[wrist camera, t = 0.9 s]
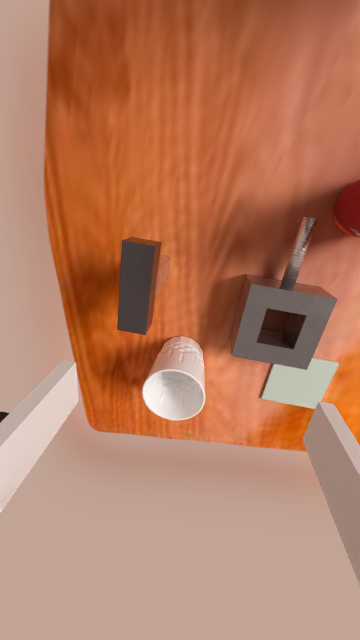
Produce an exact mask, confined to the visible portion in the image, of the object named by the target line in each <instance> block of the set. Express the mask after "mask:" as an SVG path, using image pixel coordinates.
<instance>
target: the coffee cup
mask: <svg viewBox="0 0 360 640" xmlns="http://www.w3.org/2000/svg"><path fill="white" fill-rule="evenodd" d="M333 217H334V221H335V224H336V225H337V227H338V228H339V229H340V230H342V231H343V232H345V233H347V234H350V235H352V236H355V237H358V238H360V180H359V181H357V182H355V183H353V184H351V185H350V186H348V187H347V188H346V189H345V190H344V191H343V192H342V193H341V194H340V195H339V197H338V199H337V200H336V203H335V206H334V210H333Z"/></svg>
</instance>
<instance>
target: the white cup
mask: <svg viewBox="0 0 360 640" xmlns="http://www.w3.org/2000/svg"><path fill="white" fill-rule="evenodd" d="M142 395H143V399H144V402H145V404H146V405H147V407H148V408H149V409H150V410H151V411H152V412H154V413H155V414H156V415H158V416H160V417H162V418H165V419H169V420H185V419H188V418H191V417H193V416H195V415H196V414H197V413H199V412H200V410H201V409H202V408H203V406H204V403H205V373H204V363H203V351H202V350H201V348H200V346H199V344H198V343H197V342H195V341H194V340H192V339H191V338H188V337H183V336H179V337H173V338H171V339H170V340H168V341H167V342H165V343H164V345H163V347H162V349H161V351H160V353H159V354H158V356H157V358H156V359H155V362H154V364H153V366H152V368H151V370H150V372H149V374H148V377H147V379H146V381H145V383H144V385H143V389H142Z"/></svg>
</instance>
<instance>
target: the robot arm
mask: <svg viewBox="0 0 360 640" xmlns="http://www.w3.org/2000/svg"><path fill="white" fill-rule="evenodd" d="M77 403H78V385H77V371H76V362H71V361H64V360H62V362H60V363H59V364H58V365H57V366H56V367H55V368H54V369H53V370H52V371H51V372H50V373H49V375H47V376H46V377H45V378H44V379H43V380H42V381H41V382H40V383H39V384H38V386H36V387H35V389H33V390H32V391H31V392H30V393H29V394H28V395H27V396H26V398H25V399H24V400H22V401H21V402H20V404H19V405H18V406H16V407H15V408H14V410H13V411H11V413H6V412H0V513H1V511H2V510H3V509H4V507H5V506H6V504H7V503H8V501H9V500H10V499H11V497H12V496H13V494H14V493H15V491H16V490H17V489H18V487H19V485H20V484H21V483H22V481H23V480H24V478H25V477H26V476H27V474H28V473H29V471H30V470H31V469H32V467H33V466H34V464H35V463H36V461H37V460H38V459H39V457H40V455H41V454H42V453H43V451H44V450H45V448H46V447H47V446H48V444H49V443H50V441H51V440H52V438H53V437H54V436H55V434H56V433H57V431H58V430H59V428H60V427H61V425H62V424H63V423H64V421H65V420H66V418H67V417H68V416H69V414H70V413H71V411H72V410H73V408H74V407H75V406H76V404H77ZM302 440H303V442H304V445H305V447H306V450H307V453H308V455H309V458H310V460H311V463H312V465H313V468H314V470H315V473H316V475H317V478H318V480H319V483H320V486H321V488H322V491H323V493H324V496H325V498H326V501H327V503H328V506H329V508H330V511H331V513H332V516H333V519H334V521H335V523H336V526H337V529H338V531H339V534H340V536H341V539H342V541H343V543H344V546H345V549H346V551H347V554H348V557H349V559H350V562H351V564H352V567H353V569H354V572H355V574H356V577H357V580H358V582H359V584H360V445H359V444H358V442H357V441H356V439H355V437H354V436H353V434H352V433H351V431H350V429H349V428H348V426H347V425H346V423H345V421H344V420H343V418H342V417H341V415H340V413H339V412H338V410H337V409H336V407H335V406H334V404H331V403H325V402H318V404H317V406H316V408H315V411H314V413H313V415H312V418H311V420H310V423H309V425H308V427H307V430H306V432H305V434H304V437H303V439H302Z"/></svg>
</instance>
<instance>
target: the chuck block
mask: <svg viewBox="0 0 360 640" xmlns="http://www.w3.org/2000/svg"><path fill="white" fill-rule="evenodd" d="M316 222H317V219H316V218H310V217H302V220H301V223H300V227H299V230H298V233H297V236H296V239H295V242H294V245H293V248H292V251H291V254H290V257H289V261H288V264H287V267H286V270H285V273H284V276H283V279H282V280H276V279H271V278H265V277H259V276H254V275H248V274H246V277H245V281H244V284H243V288H242V292H241V296H240V300H239V304H238V307H237V311H236V315H235V319H234V323H233V327H232V330H231V334H230V338H229V339H230V347H231V354H232V356H236V357H241V358H246V359H252V360H257V361H262V362H267V363H273V364H278V365H283V366H288V367H294V368H299V369H304V370H307V369H308V366H309V364H310V362H311V359H312V357H313V355H314V352H315V350H316V348H317V345H318V343H319V341H320V338H321V336H322V334H323V331H324V329H325V327H326V324H327V322H328V320H329V317H330V315H331V313H332V310H333V308H334V306H335V304H336V301H337V299H336V298H335V297H334V296H332V295H331V294H329V293H328V292H327V291H325V290H324V289H322V288H321V287H316V286H311V285H305V284H299V283H296V280H297V277H298V274H299V271H300V268H301V265H302V263H303V260H304V257H305V254H306V251H307V248H308V245H309V242H310V240H311V237H312V234H313V231H314V228H315V225H316ZM267 308H268V309H274V310H279V311H285V312H290V316H289V319H288V322H287V324H286V327H285V330H284V332H279V331H273V330H268V329H263V328H261V326H262V323H263V320H264V317H265V313H266V310H267Z"/></svg>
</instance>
